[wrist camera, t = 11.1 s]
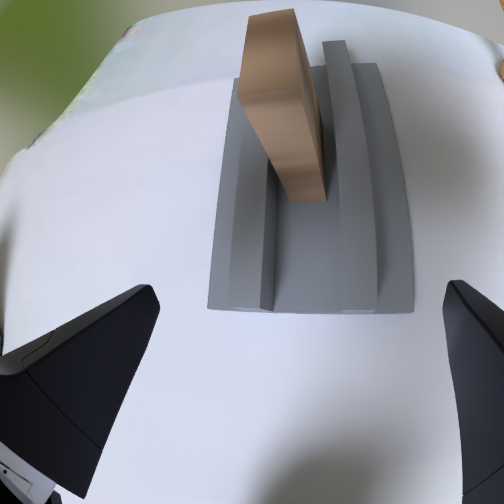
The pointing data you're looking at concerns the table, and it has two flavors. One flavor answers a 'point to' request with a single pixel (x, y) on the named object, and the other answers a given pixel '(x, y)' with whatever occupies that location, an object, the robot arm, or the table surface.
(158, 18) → the table surface
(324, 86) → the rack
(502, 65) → the figurine
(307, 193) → the plaque
